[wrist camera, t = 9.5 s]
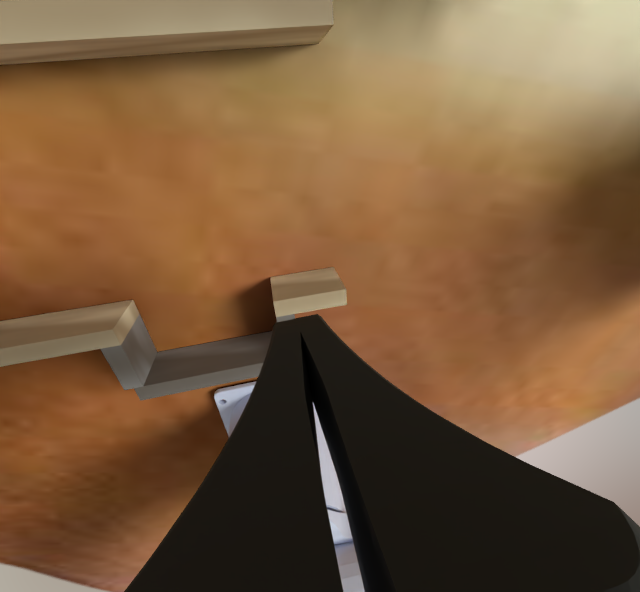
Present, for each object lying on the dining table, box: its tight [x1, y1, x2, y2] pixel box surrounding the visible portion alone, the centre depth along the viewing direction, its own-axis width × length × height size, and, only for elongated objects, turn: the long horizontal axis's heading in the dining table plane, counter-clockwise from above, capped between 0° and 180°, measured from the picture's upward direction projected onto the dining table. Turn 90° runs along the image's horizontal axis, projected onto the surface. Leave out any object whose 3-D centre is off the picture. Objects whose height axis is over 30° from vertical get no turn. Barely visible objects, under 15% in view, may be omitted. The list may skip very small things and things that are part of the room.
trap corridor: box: [0, 0, 347, 400], centre depth 13 cm, size 22×26×3 cm
